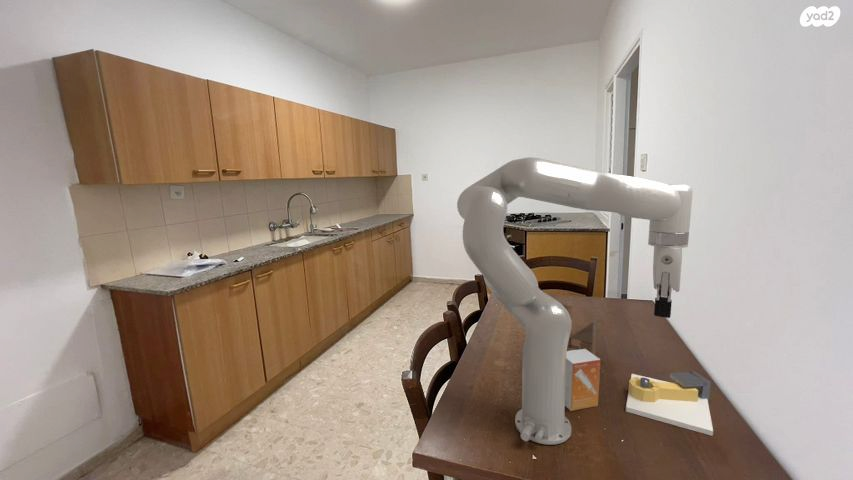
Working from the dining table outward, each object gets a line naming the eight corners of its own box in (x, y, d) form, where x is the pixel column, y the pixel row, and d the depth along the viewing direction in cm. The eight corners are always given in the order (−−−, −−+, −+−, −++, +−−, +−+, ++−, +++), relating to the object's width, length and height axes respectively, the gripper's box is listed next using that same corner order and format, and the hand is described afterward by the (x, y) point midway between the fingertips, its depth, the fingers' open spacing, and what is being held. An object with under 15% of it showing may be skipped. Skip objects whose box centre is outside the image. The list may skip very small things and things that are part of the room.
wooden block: (591, 365, 111) (594, 310, 108) (557, 355, 118) (558, 303, 115) (595, 360, 114) (597, 306, 111) (561, 351, 121) (562, 300, 118)
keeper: (693, 391, 96) (694, 371, 95) (708, 402, 91) (710, 381, 90) (668, 393, 96) (669, 373, 95) (682, 404, 91) (684, 383, 90)
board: (712, 436, 80) (713, 431, 79) (625, 411, 89) (626, 406, 89) (705, 394, 94) (705, 390, 94) (631, 377, 104) (631, 373, 103)
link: (634, 400, 91) (635, 390, 90) (626, 386, 97) (626, 376, 97) (701, 406, 88) (702, 394, 88) (687, 391, 94) (688, 380, 94)
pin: (647, 404, 91) (649, 382, 90) (638, 401, 92) (640, 380, 91) (648, 400, 93) (649, 378, 92) (639, 397, 94) (640, 376, 93)
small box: (570, 412, 89) (572, 363, 87) (556, 397, 96) (557, 351, 93) (598, 406, 91) (601, 359, 89) (582, 392, 97) (584, 347, 95)
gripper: (690, 245, 73) (682, 330, 76) (686, 235, 85) (680, 308, 88) (647, 243, 77) (641, 323, 80) (649, 233, 89) (644, 303, 92)
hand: (662, 315), depth 84 cm, fingers closed
